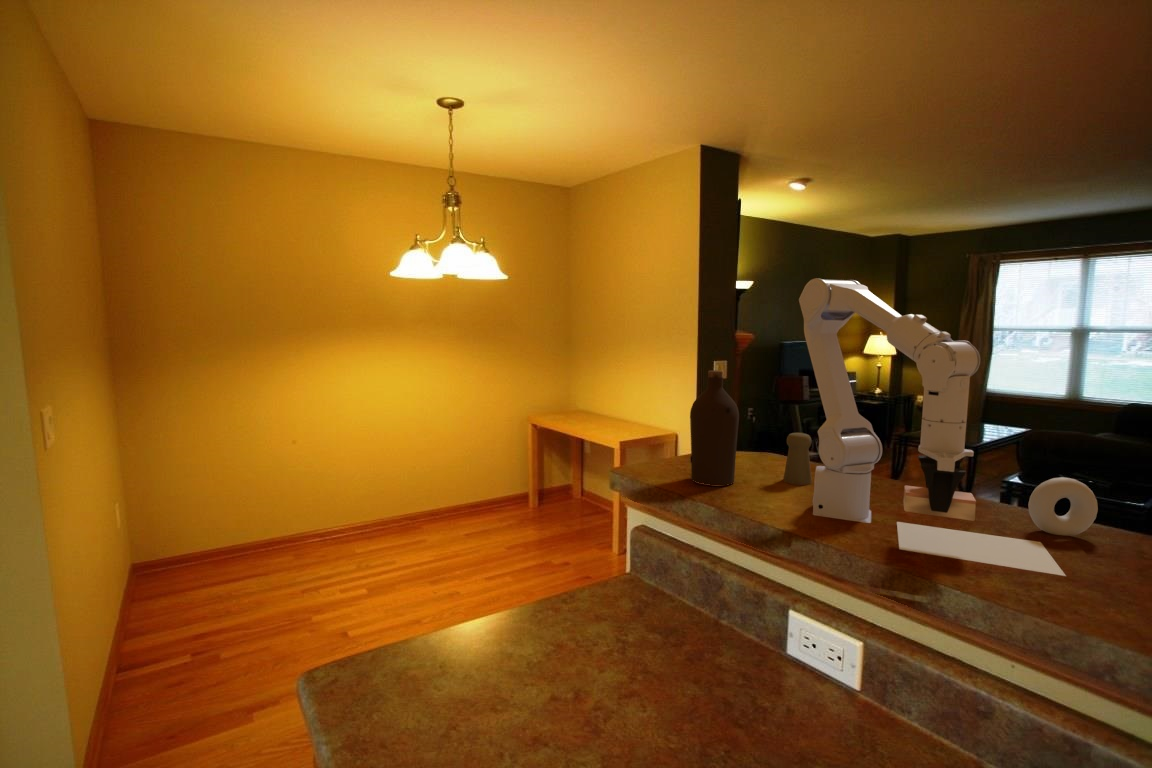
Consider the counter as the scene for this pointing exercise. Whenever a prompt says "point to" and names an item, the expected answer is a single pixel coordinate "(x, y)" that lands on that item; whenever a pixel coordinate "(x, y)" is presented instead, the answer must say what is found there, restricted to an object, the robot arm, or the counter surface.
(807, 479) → the cork
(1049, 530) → the donut
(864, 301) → the robot arm
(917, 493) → the pink and beige box
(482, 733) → the counter surface
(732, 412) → the olive oil
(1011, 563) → the mat
